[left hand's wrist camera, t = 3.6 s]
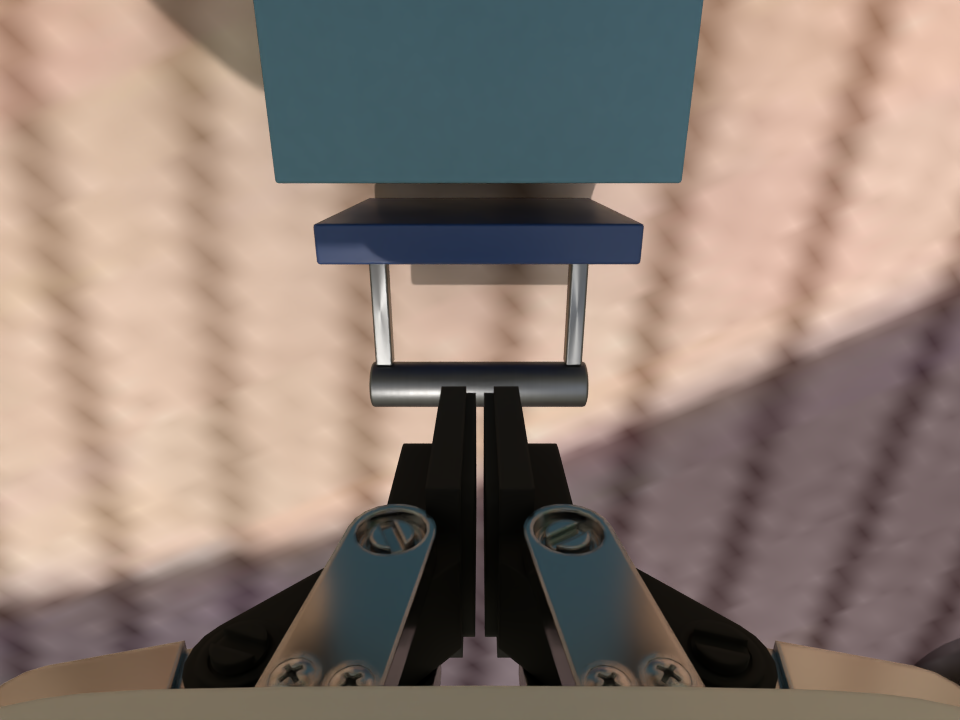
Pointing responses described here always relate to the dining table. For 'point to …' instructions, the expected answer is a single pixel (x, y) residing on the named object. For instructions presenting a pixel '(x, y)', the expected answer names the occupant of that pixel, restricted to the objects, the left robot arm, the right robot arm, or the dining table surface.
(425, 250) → the drawer
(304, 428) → the dining table surface
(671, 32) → the cabinet
